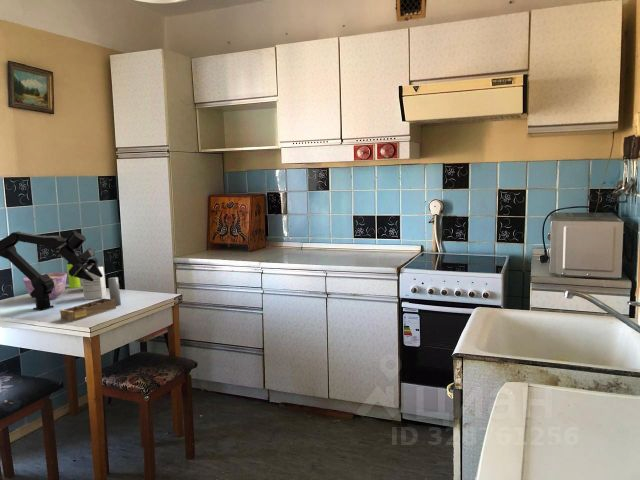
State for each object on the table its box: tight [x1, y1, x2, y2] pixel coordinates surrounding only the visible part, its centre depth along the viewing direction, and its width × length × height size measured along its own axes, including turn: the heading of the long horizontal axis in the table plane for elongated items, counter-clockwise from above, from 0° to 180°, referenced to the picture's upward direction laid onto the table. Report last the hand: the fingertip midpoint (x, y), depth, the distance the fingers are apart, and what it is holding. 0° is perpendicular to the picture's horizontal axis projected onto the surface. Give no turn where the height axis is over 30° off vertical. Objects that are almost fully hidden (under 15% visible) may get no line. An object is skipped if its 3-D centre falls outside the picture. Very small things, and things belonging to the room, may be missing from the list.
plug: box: [107, 276, 122, 307], centre depth 242 cm, size 4×4×13 cm
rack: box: [59, 298, 117, 322], centre depth 229 cm, size 8×22×4 cm, turn 151°
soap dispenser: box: [66, 263, 82, 289], centre depth 291 cm, size 6×7×20 cm
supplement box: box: [81, 266, 107, 301], centre depth 261 cm, size 9×9×15 cm
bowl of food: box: [22, 272, 68, 301], centre depth 265 cm, size 20×20×12 cm
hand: (97, 278), depth 242 cm, fingers open, 9 cm apart
